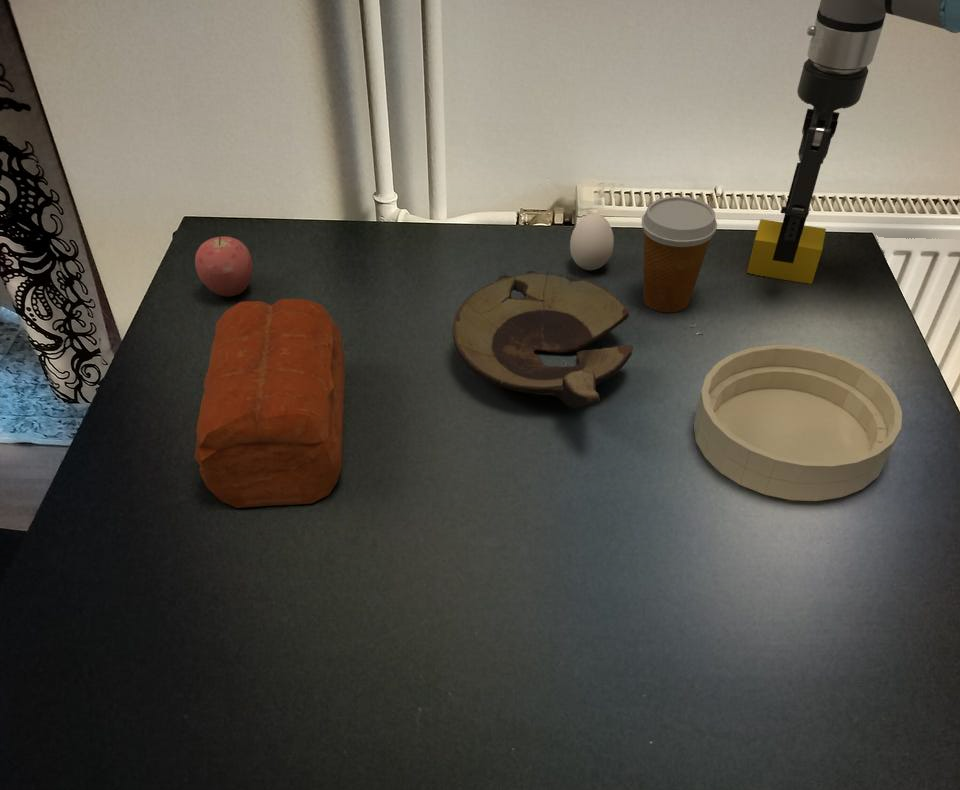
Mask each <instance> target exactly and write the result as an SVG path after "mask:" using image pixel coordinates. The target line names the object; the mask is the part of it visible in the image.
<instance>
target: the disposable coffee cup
mask: <svg viewBox="0 0 960 790" xmlns="http://www.w3.org/2000/svg"><path fill="white" fill-rule="evenodd" d="M641 226H642V230H643V280H642V281H643V283H642V284H643V285H642V287H643V289H642V291H643V293H642V299H643V302H644V304H645V305H646V306H647V307H648V308H649V309H651V310H654V311H656V312H661V313H676V312H681V311H683V310H685V309H686V308H687V307H688V306H689V305H690V302H691V299H692V296H693V292H694V290H695V287H696V284H697V281H698V278H699V275H700V271H701V269H702V266H703V263H704V260H705V257H706V253H707V250H708V247H709V244H710V241H711V239H712V237H713V236H714V234H715V233H716V231H717V229H718V221H717V220H716V211H715V210H714V209H713V207H712V206H711V205H709V204H708V203H706V202H705V201H702V200H699V199H696V198H692V197H687V196H667V197H662V198H659V199H656V200H654V201H653V202H651V203H650V204H649V205H648V207H647V208H646V210H645V213H644V214H643V215H642V217H641Z"/></svg>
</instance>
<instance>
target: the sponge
mask: <svg viewBox="0 0 960 790" xmlns="http://www.w3.org/2000/svg"><path fill="white" fill-rule="evenodd" d="M782 223H783V221H778V220H777V221H775V220H769V219H762V218H761V219H759V223H758V227H757V230H756V233H755V237H754V242H753V246H752V250H751V253H750V258H749V262H748V266H747V271H746V274H747V273H750V274H749V275H751V274H754V275H753V276H757V275H761V276H760V277H763V276H765V277H764V278H770V277H771V278H772V279H777V280H783V281H789V282H790V281H791V282H795V283H803V284H809V285H812V284H813V283H814V282H813V281H814V279H815V275H816V272H817V269H818V265H819V262H820V259H821V256H822V252H823V249H824V243H825V238H826V232H827V228H826V227H825V228H824V227H817V226H811V225H805V224H804V228H803V231H802V235H801V238H800V241H799V245H798V248H797V252H796V255H795V258H794V262H793V263H787V262H781V261H775V260H773V256H774V252H775V249H776V245H777V241H778V238H779V234H780V230H781V227H782ZM771 278H770V279H771Z"/></svg>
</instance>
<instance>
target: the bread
mask: <svg viewBox="0 0 960 790" xmlns="http://www.w3.org/2000/svg"><path fill="white" fill-rule="evenodd" d="M345 386H346V355H345V352H344V348H343V342H342V334H341V328H340V326H338V325H337V324H336V323H335V322H334V321H333V318H332V316H330V314H329V312H328V311H327V310H326V308H325V307H324V306H323V304H320V303H316V302H315V301H311V300H307V299H305V298H280V299H279V300H278V301H275V302H274V303H273V304H271V305H270V304H268V303H266V302H264V301H262V300H254V301H253V300H251V301H240V302H238V303H236V304H235V305H233V306H232V307H230V308H229V309H227V310H225V311H224V313H223V314H222V315H221V316H220V318H219V319H218V320H217V322H216V323H215V324H214V338H213V341H212V344H211V349H210V357H209V363H208V370H207V372H206V375H205V377H204V380H203V388H204V392H203V396H202V398H201V401H200V408H199V414H198V419H197V426H196V429H195V430H196V431H195V434H196V442H195V450H194V460H195V461H196V462H197V464H198V465H199V466H200V467H199V469H198V472H199V474H200V477H201V479H202V481H203V483H204V484H205V486H206V488H207V490H209V491H210V492H211V493H212V494H213V495H214V496H215V497H216V498H217V499H218V500H219V501H220V502H222V503H225V504H227V505H229V506H231V507H234V508H237V509H240V508H255V507H268V506H286V505H288V506H290V505H307V504H310V505H311V504H314V503H315V502H317V501H320V500H321V499H323V498H325V497H327V496H329V495H330V494H331V493H332V491H333V490H334V487H336V484H337V483H338V480H339V477H340V475H341V473H342V469H343V452H344V451H343V448H344V423H345V422H344V418H345V389H346V388H345Z"/></svg>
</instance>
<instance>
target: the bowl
mask: <svg viewBox="0 0 960 790" xmlns="http://www.w3.org/2000/svg"><path fill="white" fill-rule="evenodd" d="M902 425H903V410H902V407H901V405H900V402H899V398H898V396H897V395H896V394H895V392H894V391H893V389H891V387H890V386H889V385H888V384H887V382H886V381H885V380H884V379H882V378H881V377H880V376H879V375H878V374H876V373H874V371H872V370H871V369H870V368H868V367H867V366H865V365H862V364H861V363H859V362H857V361H854V360H853V359H851V358H849V357H847V356H844V355H840V354H837V353H835V352H831V351H829V350H825V349H821V348H815V347H810V346H804V345H797V344H768V345H761V346H754V347H753V346H752V347H748V348H746V349H743V350H739V351H737V352H734V353H731V354H729V355H727V356H726V357H725V358H723V359H721V360H720V361H718V362H716V363H715V364H714V365H713V366H712V368H711V369H710V370H709V372H708V373H706V375H705V377H704V380H703V383H702V387H701V390H700V395H699V399H698V403H697V408H696V413H695V418H694V422H693V430H694V438H695V443H696V444H697V446H698V448H699V450H700V451H701V453H702V455H703V456H704V459H706V460H707V461H708V462H709V464H711V466H713V467H714V468H715V470H717V471H718V472H719V473H720V474H722V475H724V477H726V478H728V479H730V480H731V481H733V482H735V483H736V484H738V485H739V486H741V487H744V488H747V489H748V490H749V489H750V490H752V491H755V492H757V493H760V494H762V495H765V496H769V497H774V498H779V499H783V500H784V499H785V500H789V501H804V502H805V501H808V502H818V501H819V502H820V501H827V500H833V499H838V498H845V497H846V496H849V495H851V494H854V493H857V492H859V491H861V490H863V489H865V488H866V487H867V486H869V485H870V484H871V483H872V482H874V480H877V478H878V477H879V476H880V474H881V472H882V470H883V469H884V467H885V465H886V463H887V461H888V459H889V457H890V455H891V452H892V451H893V448H894V446H895V443H896V442H897V439H898V437H899V435H900V432H901V430H902Z"/></svg>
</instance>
